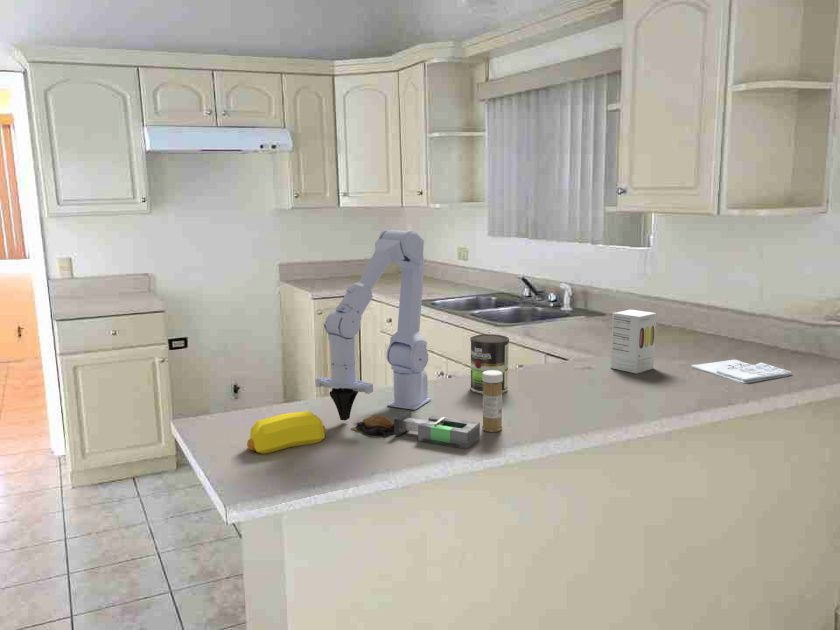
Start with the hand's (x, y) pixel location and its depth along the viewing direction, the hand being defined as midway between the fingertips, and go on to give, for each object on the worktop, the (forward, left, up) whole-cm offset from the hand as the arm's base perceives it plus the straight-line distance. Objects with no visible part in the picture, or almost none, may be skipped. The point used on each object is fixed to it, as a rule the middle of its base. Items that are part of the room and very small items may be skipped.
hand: (344, 419), depth 171 cm
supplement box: (-77, +52, -1) cm, 93 cm away
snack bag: (-86, +81, -2) cm, 118 cm away
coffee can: (-40, +21, -1) cm, 45 cm away
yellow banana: (+17, -4, -2) cm, 17 cm away
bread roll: (+1, +9, -2) cm, 9 cm away
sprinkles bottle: (-10, +33, -1) cm, 34 cm away
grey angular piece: (0, +20, -1) cm, 20 cm away
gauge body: (0, +27, -1) cm, 27 cm away
